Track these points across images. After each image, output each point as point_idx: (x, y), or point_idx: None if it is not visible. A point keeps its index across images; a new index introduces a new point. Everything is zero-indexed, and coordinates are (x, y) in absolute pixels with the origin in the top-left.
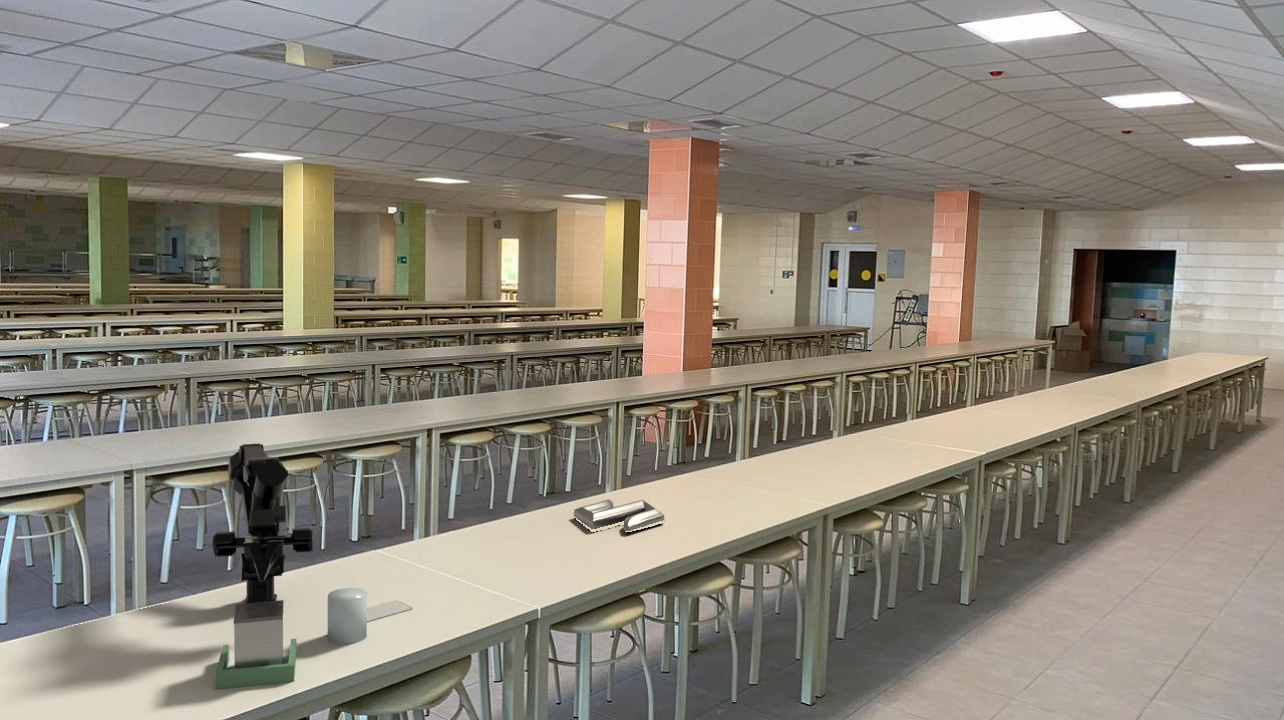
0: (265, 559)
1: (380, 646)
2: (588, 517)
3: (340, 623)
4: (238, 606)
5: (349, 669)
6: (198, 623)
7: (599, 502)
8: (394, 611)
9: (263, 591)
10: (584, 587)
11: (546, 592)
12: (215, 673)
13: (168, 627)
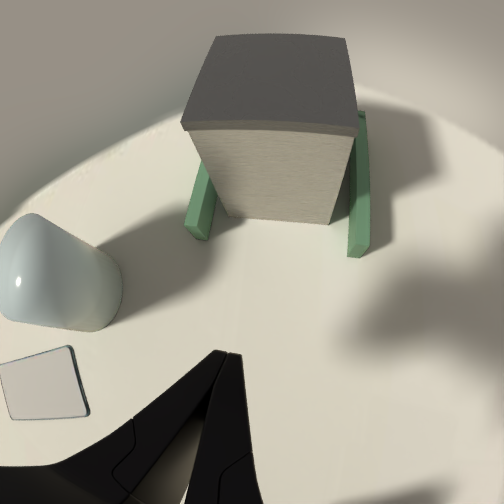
0: (151, 451)
1: (65, 221)
2: None
3: (80, 239)
4: (348, 105)
5: (135, 144)
6: (392, 500)
7: None
8: (14, 370)
9: None
10: None
11: None
12: (364, 112)
13: (446, 484)
